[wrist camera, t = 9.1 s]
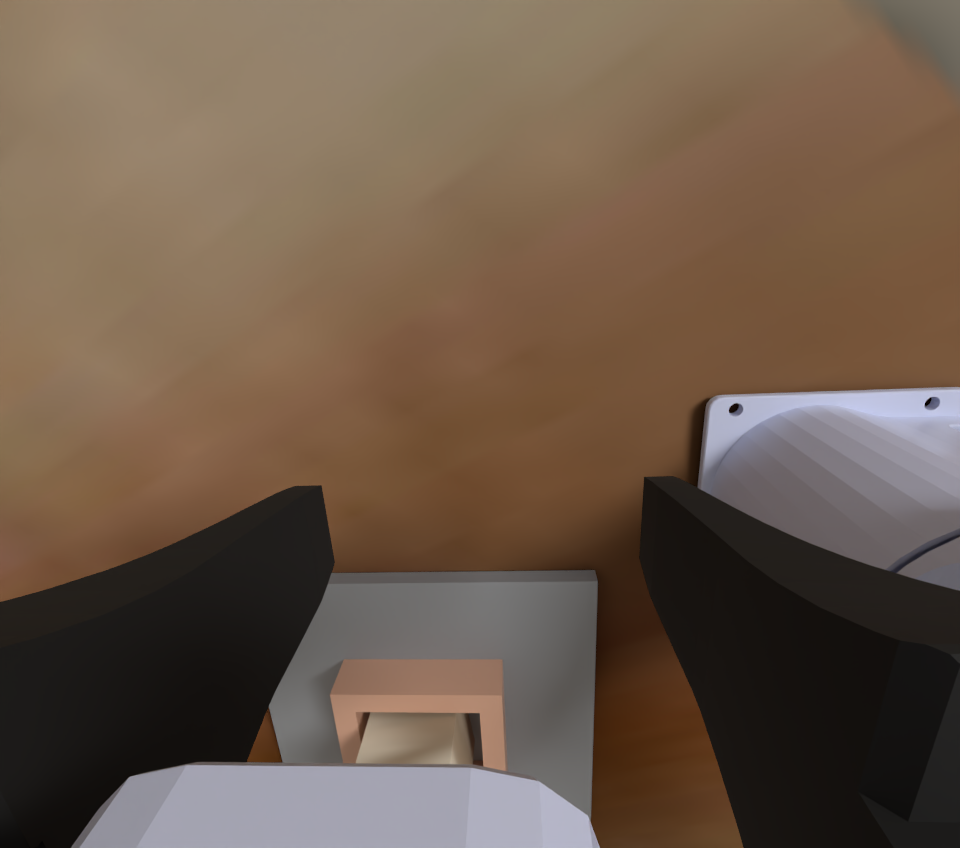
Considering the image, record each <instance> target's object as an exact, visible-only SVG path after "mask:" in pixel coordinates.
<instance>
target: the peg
mask: <svg viewBox="0 0 960 848" xmlns="http://www.w3.org/2000/svg"><path fill="white" fill-rule="evenodd" d="M474 743H475V739H474V735H473V731H472V726H471V722H470V718H469V714H468V713H408V712H370V716H369V719H368V723H367V726H366V729H365V733H364V736H363V739H362V743H361V746H360V750H359V753H358V756H357V760H356V763H372V764H473V757H474Z"/></svg>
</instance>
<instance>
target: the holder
mask: <svg viewBox="0 0 960 848" xmlns="http://www.w3.org/2000/svg"><path fill="white" fill-rule="evenodd" d="M597 592H598V580H597V576H596V572H595V570H559V571H469V572H380V573H331V576H330V579H329V582H328V585H327V588H326V591H325V593H324V596H323V599H322V601H321V603H320V606H319V608H318V610H317V612H316V614H315V616H314V618H313V620H312V622H311V624H310V625H309V627H308V629H307V631H306V633H305V635H304V637H303V639H302V641H301V643H300V645H299V647H298V649H297V651H296V653H295V655H294V656H293V658H292V660H291V662H290V664H289V666H288V668H287V670H286V672H285V674H284V676H283V678H282V680H281V682H280V683H279V685H278V687H277V689H276V691H275V694H274V696H273V698H272V700H271V702H270V704H269V709H270V713H271V717H272V721H273V725H274V729H275V733H276V737H277V741H278V745H279V749H280V753H281V757H282V761H283V763H356V760H357V756H358V753H359V750H360V746H361V743H362V739H363V736H364V733H365V729H366V726H367V723H368V719H369V716H370V712H408V713H468V714H469V718H470V722H471V726H472V731H473V735H474V739H475V743H474V757H473V765H478V766H483V767H488V768H493V769H498V770H503V771H508V772H513V773H518V774H523V775H528V776H532V777H534V778H535V779H537V780H538V781H539V782H541V783H542V784H544V785H545V786H547V787H548V788H549V789H551V790H552V791H554V792H555V793H556V794H558V795H559V796H561V797H562V798H564V799H565V800H566V801H568V802H569V803H571V804H572V805H573V806H575V807H576V808H578V809H579V810H581V811H582V812H583V813H585V814H586V815H588V817H589V820H590V822H591V797H592V763H593V729H594V695H595V661H596V627H597Z"/></svg>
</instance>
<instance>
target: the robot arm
mask: <svg viewBox="0 0 960 848" xmlns="http://www.w3.org/2000/svg"><path fill="white" fill-rule="evenodd" d="M930 397H931V399H932V400H931V402H930V404H929V405H927V406H925V402H926V400H927V399H929V398H930ZM735 403H738V404H739V407H738V410H737V411H736V412H734V413H729V408H730V406H731V405H733V404H735ZM639 558H640V562H641V565H642V569H643V573H644V576H645V580H646V583H647V587H648V590H649V593H650V597H651V599H652V601H653V604H654V606H655V608H656V611H657V613H658V615H659V617H660V620H661V622H662V624H663V626H664V629H665V631H666V633H667V635H668V637H669V640H670V642H671V644H672V646H673V649H674V651H675V653H676V655H677V657H678V660H679V662H680V664H681V666H682V668H683V671H684V673H685V675H686V677H687V679H688V682H689V684H690V686H691V688H692V691H693V693H694V696H695V698H696V701H697V703H698V706H699V708H700V711H701V714H702V717H703V720H704V723H705V726H706V729H707V732H708V735H709V738H710V741H711V744H712V747H713V750H714V753H715V756H716V759H717V762H718V765H719V768H720V771H721V774H722V778H723V781H724V784H725V787H726V790H727V794H728V797H729V800H730V803H731V807H732V810H733V813H734V816H735V819H736V823H737V826H738V829H739V833H740V836H741V840H742V843H743V847H744V848H960V387H941V388H912V389H882V390H853V391H823V392H794V393H764V394H735V395H718V396H714V397H713V398H711V399H710V400H709V401H708V402H707V405H706V408H705V417H704V428H703V438H702V448H701V458H700V468H699V478H698V488H697V487H695V486H693V485H691V484H689V483H687V482H685V481H683V480H681V479H679V478H676V477H674V476H666V477H644V490H643V507H642V523H641V539H640V556H639ZM334 563H335V561H334V556H333V550H332V544H331V538H330V533H329V527H328V521H327V515H326V509H325V504H324V498H323V492H322V486H321V485H320V486H294V487H291V488H288V489H286V490H283V491H281V492H279V493H276V494H274V495H272V496H270V497H268V498H266V499H264V500H262V501H260V502H258V503H256V504H254V505H252V506H250V507H248V508H246V509H244V510H242V511H240V512H238V513H236V514H234V515H232V516H230V517H228V518H226V519H224V520H222V521H220V522H218V523H216V524H214V525H212V526H210V527H208V528H206V529H204V530H202V531H200V532H197V533H195V534H193V535H191V536H189V537H187V538H185V539H183V540H180V541H178V542H176V543H174V544H172V545H170V546H167V547H165V548H163V549H160V550H158V551H155V552H153V553H151V554H148V555H146V556H143V557H141V558H138V559H135V560H133V561H130V562H128V563H125V564H122V565H120V566H117V567H114V568H111V569H109V570H106V571H103V572H100V573H97V574H93V575H90V576H87V577H84V578H81V579H78V580H75V581H72V582H69V583H66V584H62V585H59V586H56V587H53V588H50V589H47V590H43V591H40V592H36V593H33V594H29V595H25V596H22V597H18V598H14V599H11V600H7V601H3V602H0V848H600V847H599V844H598V842H597V839H596V836H595V833H594V831H593V828H592V825H591V822H590V820H589V817H588V815H586V814H585V813H583V812H582V811H581V810H579V809H578V808H576V807H575V806H573V805H572V804H571V803H569V802H568V801H566V800H565V799H564V798H562V797H561V796H559V795H558V794H556V793H555V792H554V791H552V790H551V789H549V788H548V787H547V786H545V785H544V784H542V783H541V782H539V781H538V780H537V779H535V778H534V777H532V776H528V775H523V774H518V773H513V772H508V771H503V770H498V769H493V768H488V767H483V766H478V765H473V764H372V763H262V762H247V759H248V757H249V754H250V752H251V749H252V746H253V744H254V741H255V739H256V736H257V734H258V731H259V729H260V726H261V724H262V721H263V718H264V716H265V713H266V711H267V709H268V707H269V704H270V702H271V700H272V698H273V696H274V694H275V691H276V689H277V687H278V685H279V683H280V682H281V680H282V678H283V676H284V674H285V672H286V670H287V668H288V666H289V664H290V662H291V660H292V658H293V656H294V655H295V653H296V651H297V649H298V647H299V645H300V643H301V641H302V639H303V637H304V635H305V633H306V631H307V629H308V627H309V625H310V624H311V622H312V620H313V618H314V616H315V614H316V612H317V610H318V608H319V606H320V603H321V601H322V599H323V596H324V593H325V591H326V588H327V585H328V582H329V579H330V576H331V573H332V570H333V566H334Z"/></svg>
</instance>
